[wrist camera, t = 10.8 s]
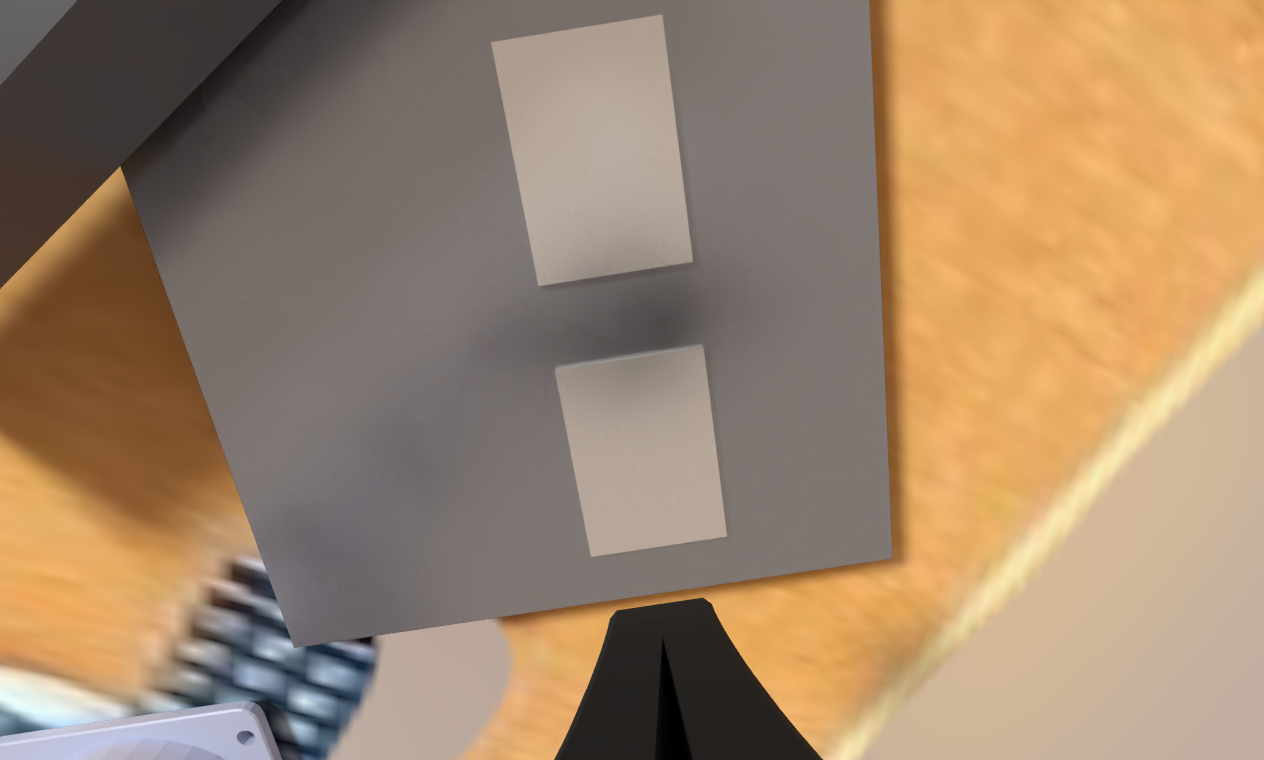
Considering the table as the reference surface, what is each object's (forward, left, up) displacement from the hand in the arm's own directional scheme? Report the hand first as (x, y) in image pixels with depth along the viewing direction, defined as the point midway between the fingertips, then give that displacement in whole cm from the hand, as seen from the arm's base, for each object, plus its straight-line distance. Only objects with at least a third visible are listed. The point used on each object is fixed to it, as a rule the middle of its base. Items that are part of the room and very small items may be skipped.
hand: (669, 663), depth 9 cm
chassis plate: (+4, +2, -8) cm, 10 cm away
